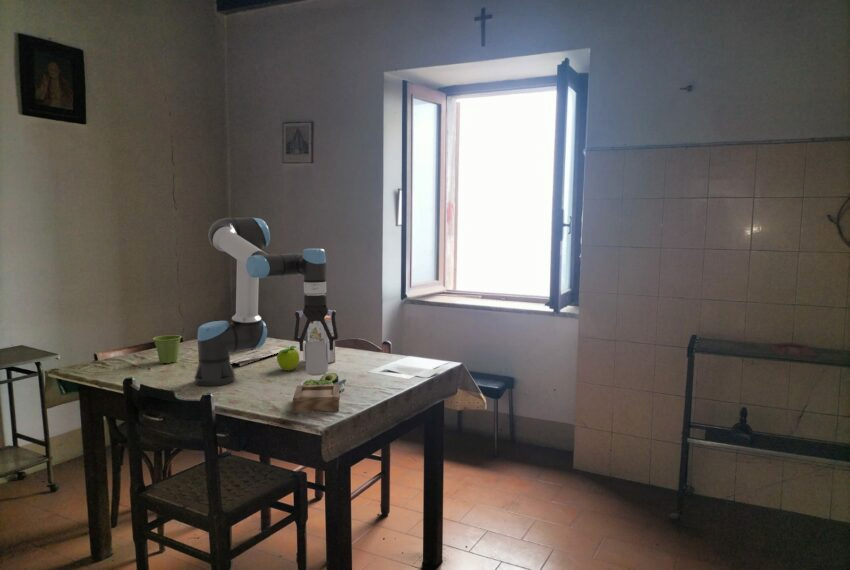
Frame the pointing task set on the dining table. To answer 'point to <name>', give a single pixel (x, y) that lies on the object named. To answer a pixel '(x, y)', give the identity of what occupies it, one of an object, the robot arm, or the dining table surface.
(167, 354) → the plant pot
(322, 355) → the can
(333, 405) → the wooden tray
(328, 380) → the salad plate
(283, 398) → the dining table surface
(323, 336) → the cracker box
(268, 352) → the newspaper
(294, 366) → the fruit
